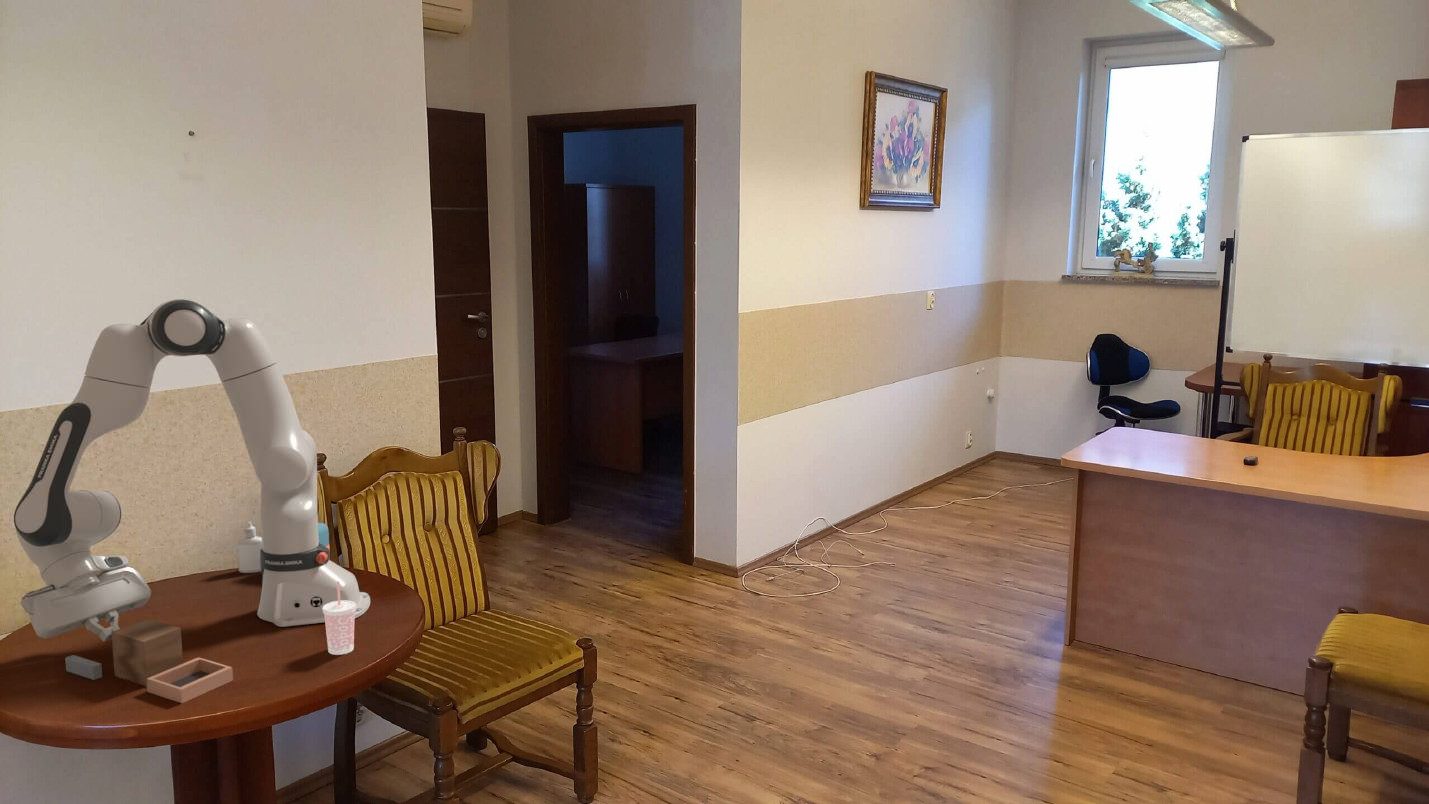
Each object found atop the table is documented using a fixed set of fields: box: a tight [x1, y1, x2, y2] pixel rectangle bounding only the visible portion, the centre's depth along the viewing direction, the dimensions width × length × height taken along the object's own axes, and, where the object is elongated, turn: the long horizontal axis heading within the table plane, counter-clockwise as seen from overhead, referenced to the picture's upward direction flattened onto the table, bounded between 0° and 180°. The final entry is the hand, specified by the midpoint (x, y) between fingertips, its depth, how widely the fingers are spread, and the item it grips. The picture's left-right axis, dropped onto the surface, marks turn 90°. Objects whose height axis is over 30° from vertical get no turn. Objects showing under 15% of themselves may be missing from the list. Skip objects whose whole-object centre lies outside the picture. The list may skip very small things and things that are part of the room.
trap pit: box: [146, 657, 234, 704], centre depth 172 cm, size 9×10×2 cm
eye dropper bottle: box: [237, 521, 262, 574], centre depth 230 cm, size 4×6×12 cm
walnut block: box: [111, 618, 184, 688], centre depth 176 cm, size 9×7×8 cm
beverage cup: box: [322, 581, 356, 656], centre depth 187 cm, size 6×6×14 cm
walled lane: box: [64, 654, 103, 681], centre depth 181 cm, size 8×13×2 cm, turn 155°
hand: (112, 637), depth 180 cm, fingers closed
